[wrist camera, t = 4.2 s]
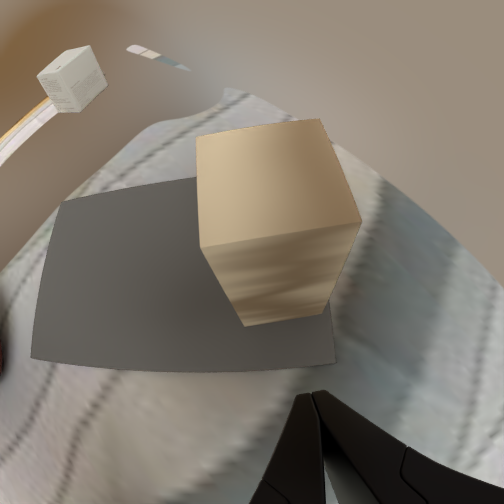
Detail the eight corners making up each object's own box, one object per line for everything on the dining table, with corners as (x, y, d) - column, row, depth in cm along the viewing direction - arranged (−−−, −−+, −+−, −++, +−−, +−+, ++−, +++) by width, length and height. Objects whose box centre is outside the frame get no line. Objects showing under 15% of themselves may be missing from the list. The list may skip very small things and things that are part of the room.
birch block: (244, 326, 17) (199, 247, 8) (235, 256, 19) (195, 137, 10) (321, 313, 17) (362, 221, 8) (306, 245, 19) (319, 118, 10)
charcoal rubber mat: (33, 358, 17) (30, 357, 17) (63, 204, 24) (61, 202, 23) (334, 363, 16) (336, 362, 16) (305, 169, 22) (305, 166, 22)
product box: (110, 85, 33) (91, 44, 26) (80, 114, 30) (56, 72, 24) (85, 86, 34) (66, 49, 28) (57, 113, 32) (34, 76, 26)
